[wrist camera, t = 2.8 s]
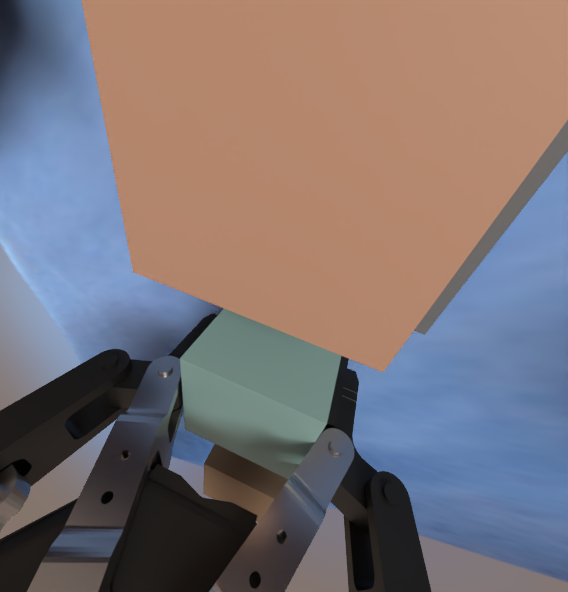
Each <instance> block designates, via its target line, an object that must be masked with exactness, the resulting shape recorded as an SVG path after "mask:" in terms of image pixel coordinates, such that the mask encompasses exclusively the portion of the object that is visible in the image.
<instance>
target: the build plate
mask: <svg viewBox="0 0 568 592" xmlns="http://www.w3.org/2000/svg"><path fill="white" fill-rule="evenodd" d="M567 151H568V120H567V122H566V123H565V124H564V126H563V127H562V128H561V130H560V131H559V133H558V134H557V135H556V137H555V138H554V139H553V141H552V142H551V143H550V145H549V146H548V148H547V149H546V150H545V152H544V153H543V154H542V156H541V157H540V159H539V160H538V161H537V163H536V164H535V165H534V167H533V168H532V169H531V171H530V172H529V174H528V175H527V176H526V178H525V179H524V180H523V182H522V183H521V185H520V186H519V187H518V189H517V190H516V191H515V193H514V194H513V195H512V197H511V198H510V200H509V201H508V202H507V204H506V205H505V206H504V208H503V209H502V210H501V212H500V213H499V215H498V216H497V217H496V219H495V220H494V221H493V223H492V224H491V226H490V227H489V228H488V230H487V231H486V232H485V234H484V235H483V236H482V238H481V239H480V241H479V242H478V243H477V245H476V246H475V247H474V249H473V250H472V252H471V253H470V254H469V256H468V257H467V258H466V260H465V261H464V262H463V264H462V265H461V267H460V268H459V269H458V271H457V272H456V273H455V275H454V276H453V278H452V279H451V280H450V282H449V283H448V284H447V286H446V287H445V288H444V290H443V291H442V293H441V294H440V295H439V297H438V298H437V299H436V301H435V302H434V303H433V305H432V306H431V308H430V309H429V310H428V312H427V313H426V314H425V316H424V317H423V319H422V320H421V321H420V323H419V324H418V325H417V327H416V328H415V329H414V331H417V332H419V333H422V334H425V333H426V332H427V331H428V330H429V328H430V327H431V326H432V324H433V323H434V322H435V321H436V319H437V318H438V317H439V316H440V314H441V313H442V312H443V310H444V309H445V308H446V307H447V305H448V304H449V303H450V301H451V300H452V299H453V298H454V296H455V295H456V294H457V292H458V291H459V290H460V289H461V287H462V286H463V285H464V283H465V282H466V281H467V280H468V278H469V277H470V276H471V274H472V273H473V272H474V271H475V269H476V268H477V267H478V265H479V264H480V263H481V262H482V260H483V259H484V258H485V256H486V255H487V254H488V253H489V251H490V250H491V249H492V247H493V246H494V245H495V244H496V242H497V241H498V240H499V239H500V237H501V236H502V235H503V233H504V232H505V231H506V230H507V228H508V227H509V226H510V224H511V223H512V222H513V221H514V219H515V218H516V217H517V215H518V214H519V213H520V212H521V210H522V209H523V208H524V206H525V205H526V204H527V203H528V201H529V200H530V199H531V197H532V196H533V195H534V194H535V192H536V191H537V190H538V188H539V187H540V186H541V185H542V183H543V182H544V181H545V179H546V178H547V177H548V176H549V174H550V173H551V172H552V170H553V169H554V168H555V167H556V165H557V164H558V163H559V162H560V160H561V159H562V158H563V156H564V155H565V154H566V153H567Z"/></svg>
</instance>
